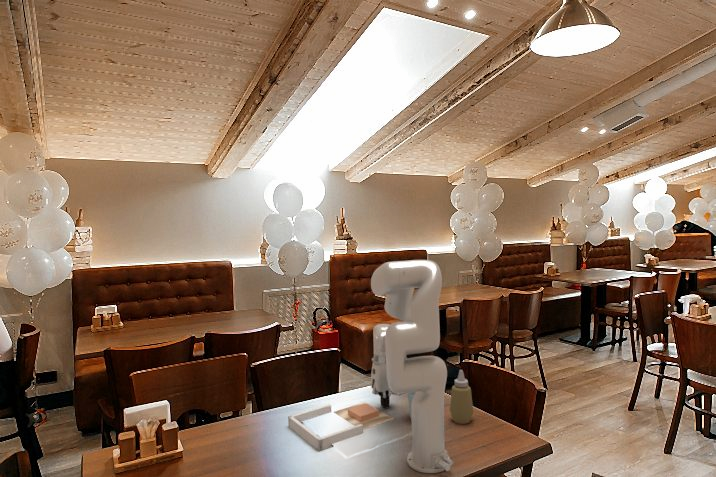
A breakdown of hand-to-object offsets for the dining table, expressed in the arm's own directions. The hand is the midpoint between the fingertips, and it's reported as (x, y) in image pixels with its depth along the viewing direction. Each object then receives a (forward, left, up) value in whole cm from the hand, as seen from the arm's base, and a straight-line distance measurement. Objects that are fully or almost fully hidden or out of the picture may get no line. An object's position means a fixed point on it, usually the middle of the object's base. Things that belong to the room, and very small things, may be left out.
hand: (385, 406), depth 177 cm
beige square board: (0, +10, -2) cm, 10 cm away
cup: (-14, -4, -2) cm, 15 cm away
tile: (0, +10, 0) cm, 10 cm away
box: (0, +26, -2) cm, 26 cm away
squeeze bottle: (-23, -16, -2) cm, 28 cm away
